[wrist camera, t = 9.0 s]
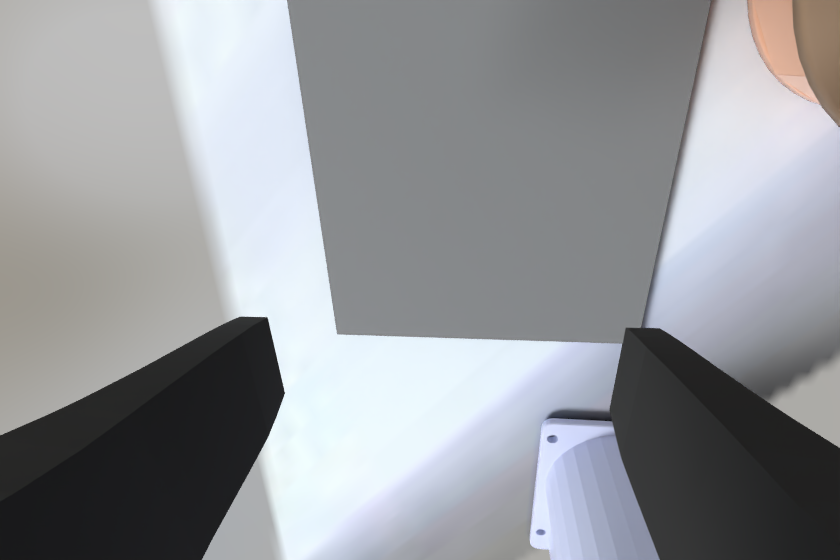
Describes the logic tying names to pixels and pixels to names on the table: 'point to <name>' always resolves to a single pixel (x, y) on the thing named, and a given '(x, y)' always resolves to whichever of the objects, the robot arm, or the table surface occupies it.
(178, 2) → the table surface
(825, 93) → the lid
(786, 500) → the robot arm
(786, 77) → the bowl
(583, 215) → the mat
